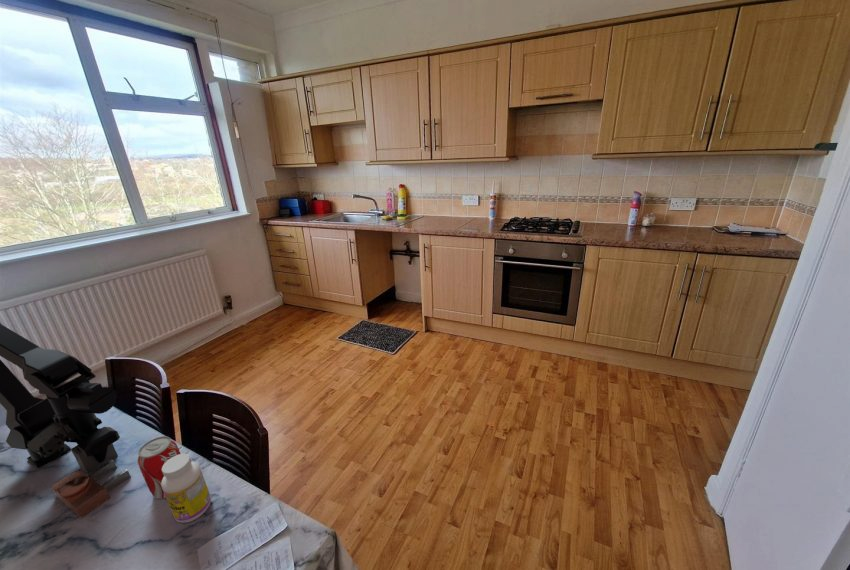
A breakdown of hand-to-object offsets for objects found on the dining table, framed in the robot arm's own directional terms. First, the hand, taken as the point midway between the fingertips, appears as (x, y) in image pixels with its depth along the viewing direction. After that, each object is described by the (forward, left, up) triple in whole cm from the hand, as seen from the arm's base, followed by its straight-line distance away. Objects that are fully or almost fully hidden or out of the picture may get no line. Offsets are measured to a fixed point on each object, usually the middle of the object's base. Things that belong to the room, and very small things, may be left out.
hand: (97, 458), depth 86 cm
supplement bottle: (+35, +3, -1) cm, 35 cm away
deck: (+9, -4, -1) cm, 10 cm away
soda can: (+25, +4, -1) cm, 25 cm away
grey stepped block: (0, 0, -1) cm, 1 cm away
